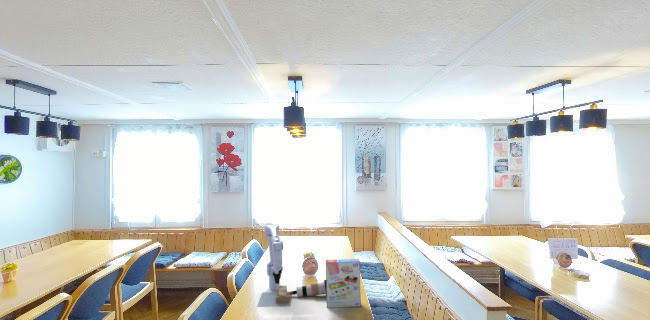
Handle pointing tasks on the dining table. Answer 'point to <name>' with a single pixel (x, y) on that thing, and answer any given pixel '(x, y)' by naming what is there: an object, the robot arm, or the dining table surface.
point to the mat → (271, 300)
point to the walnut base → (283, 298)
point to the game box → (343, 283)
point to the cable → (310, 290)
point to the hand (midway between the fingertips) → (277, 281)
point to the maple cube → (282, 290)
